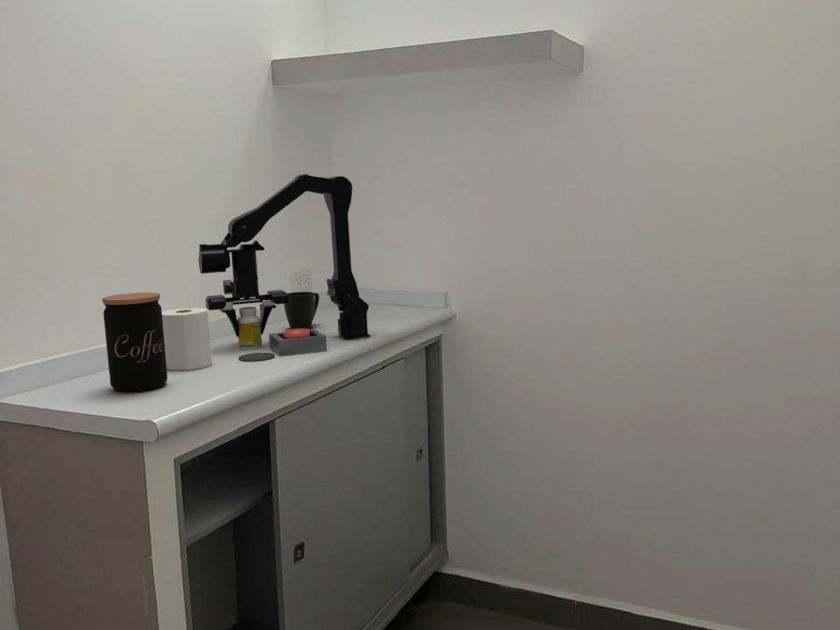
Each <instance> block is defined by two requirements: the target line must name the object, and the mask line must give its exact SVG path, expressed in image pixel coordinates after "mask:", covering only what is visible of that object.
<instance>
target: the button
mask: <svg viewBox="0 0 840 630" xmlns="http://www.w3.org/2000/svg"><path fill="white" fill-rule="evenodd" d="M310 330H311V329H304V328H298V329H289V328H288V329H286V330H283V332H284V339H291V338H301V337H310Z"/></svg>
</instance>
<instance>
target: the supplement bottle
mask: <svg viewBox="0 0 840 630" xmlns="http://www.w3.org/2000/svg"><path fill="white" fill-rule="evenodd" d="M238 311H239V312H238V313H239V315H240V316H239V317H238V318H237V324H238V330H239V337H237V339H238V348H239V349H240V350H242V351H250V350H251V351H252V350H258V349H261V348H262V347H263V346H262V345H263V342H262V341H263V340H262V335H261V326H260V316H258V315H257V307H256V306H245V307H240V308H238Z"/></svg>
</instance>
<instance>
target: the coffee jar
mask: <svg viewBox="0 0 840 630" xmlns="http://www.w3.org/2000/svg"><path fill="white" fill-rule="evenodd" d="M160 300H161V293H158V292H131V293H130V292H129V293H121V294H112V295H107V296H104V297H102V298H101V301H102V304H103V305H104V306H105V308H104V310H103V312H102V313H103V323H104V334H105V343H106V353H107V354H106V355H107V363H108V364H107V365H108V373H109V384H110V387H112V388H113V390H114V391H115V392H116V391H117V393H120V392H126V393H125V394H129V393H128V392H137V393H143V392H142V391H146V392H151V391H154V389H155V390H158V389H161V388H162V387H165V384H166V383H167V380H168V369H167V365H166V354H165V343H164V332H163V320H162V312H163V310H162V305H161V304H159V301H160ZM150 390H151V391H150Z"/></svg>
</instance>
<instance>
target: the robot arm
mask: <svg viewBox="0 0 840 630" xmlns="http://www.w3.org/2000/svg"><path fill="white" fill-rule="evenodd" d="M306 192H309V193H313V194H314V193H315V194H320V195H323V197H324V202H325V205H326V207H327V211H328V213H329V217H330V218H329V219H330V232H331V245H332V246H331V247H332V260H333V261H332V262H333V272H332V277H331V278H326V284H327V292H326V293H327V294H326V295H327V296H329V297H330V301H331V302H332V303H333V304H334V305H336V306H337V308H338V310H339V318H338V319H337V331H338V334H337V335H338V337H340V338H342V339H344V340H351V339H353V340H354V339H360V338H361V339H362V338H370V337H371V334H369V331H368V310H369V308H370V304H368V303H367V302H366V301H364V299H362V298H361V297H360V293H359V288H358V285H357V281H356V278H355V276H354V273H353V271H352V256H351V242H350V241H351V240H350V223H349V211H350V208H351V204H352V197H353V185H352V182H351V180H349V179H348V178H347V177H345V176H340V175H338V176H331V177H329V178H328V177H322V176H321V177H320V176H314V175H310V174H307V173H302V174H298V175H296V176H295V177H294V179H292V180H291V181H290V182H288V184H285V186H284V187H282V188H281V189H279V190H278V191H277V192H275V193H274V194H273V195H271V196H270V197H269V198H268V199H266V200H265V201H263V202H262V203H261V204H260V205H259V206H256V207H254V208H253V209H251V210H249V211H246V212H244V213H242V214H241V215H240V214H239V215H238V216H236V217H234V218H232V219H231V220H230V221H229V223H228V225H227V226H228V228H227V234H226V235H225V236H224V238H223V239H222V241H221V242H220V243H217V244H216V243H215V244H214V243H212V244H206V243H202V244H199V246H198V247H199V248H198V249H199V250H198V251H199V252H198V259H197V260H198V270H199V273H200V274H201V275H202V274H205V275H206V274H215V273H216V274H217V273H226V272H227V271H226V270H227V269H229V268H230V267H231V268H232V280H231V279H226V280H225V279H224V280H223V281H222V285H223V286H222V288H223V293H224V295H223V294H216V295H207V296H206V297H205V309H207V311H216V310H217V311H220V312H221V313H223V314H225V315H226V316H227V318H228V320H229V322H230V325H231V327H232V329H233V332H234V333H235V336H236V338H238V337H239V330H238V324H237V319H238V318H237V311H236V309H235V308H234V306H236V305H245V304H246V305H247V304H257V303H258V304H259V312H260V313H259V318H260V326H261V336H262V335H264V332H265V329H266V325H267V322H268V319H269V318H270V315H271V314H272V313H271V312H272V310H273V309H277V305H284V304H286V303H289V302H288V294H287V293H288V292H286V291H284V290H282V289H275V290H268V291H267V293H266V294H260V290H259V276H258V260H257V251H258V252H259V251H264V250H265V247H264V246H262V245H261V244H260V243H259V241H258V240H256V239H255V240H253V239H254V238H255V237H257V235H258V234H259V233H260V232H261V231H262V230H263V228H264V226H265V225H267V223H268V222H269V221H270V220H271V219H272V218H273V217H274V216H276V215H277V214H279V213H280V212H281V211H283V209H285V208H286V207H288V206H289V205H290V204H292V203H293V202H294V201H295V200H297V199H298V198H299V197H301V196H302V195H303V194H305V193H306ZM252 240H253V242H252V243H249V242H250V241H252ZM241 243H243V244H241ZM245 243H246V244H245ZM238 246H239V248H236V247H238ZM229 248H232V249H229ZM230 254H231V255H230ZM225 295H231V297H226V296H225Z"/></svg>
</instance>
